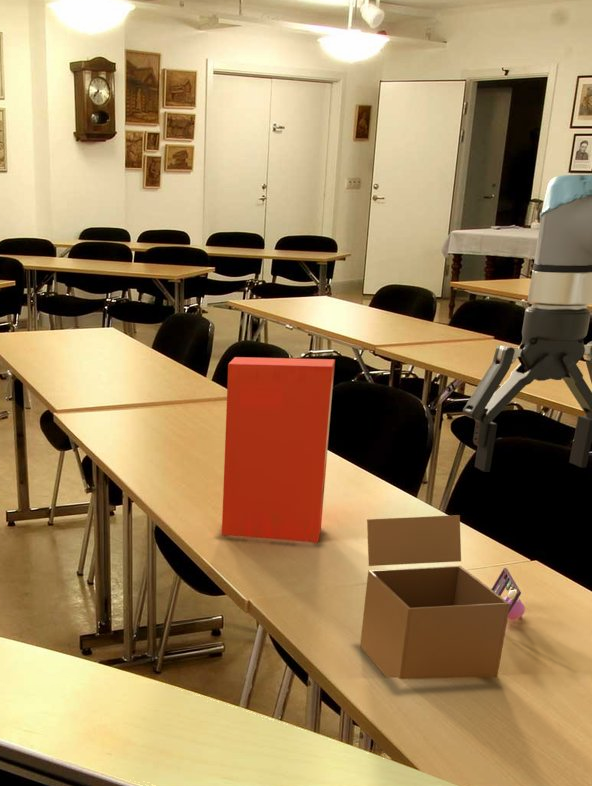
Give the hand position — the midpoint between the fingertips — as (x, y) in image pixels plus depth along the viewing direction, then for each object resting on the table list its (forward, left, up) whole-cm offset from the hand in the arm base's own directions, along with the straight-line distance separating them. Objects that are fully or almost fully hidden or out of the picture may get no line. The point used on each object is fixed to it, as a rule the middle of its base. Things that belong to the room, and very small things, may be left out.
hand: (529, 467), depth 124 cm
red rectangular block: (+23, -41, -23) cm, 52 cm away
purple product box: (0, 0, -23) cm, 23 cm away
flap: (+17, +5, -8) cm, 20 cm away
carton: (+17, +12, -23) cm, 31 cm away
